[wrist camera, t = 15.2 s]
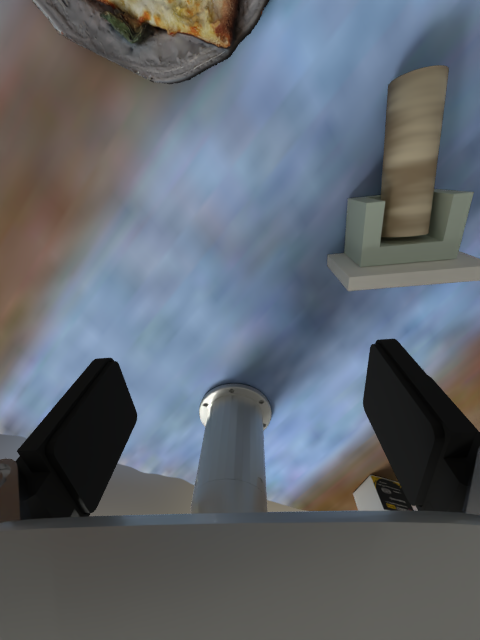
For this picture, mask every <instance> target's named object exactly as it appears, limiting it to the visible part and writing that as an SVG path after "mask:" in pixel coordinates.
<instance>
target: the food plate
mask: <svg viewBox="0 0 480 640" xmlns="http://www.w3.org/2000/svg"><path fill="white" fill-rule="evenodd" d="M32 2H33V3H34V4H35V5H36V6H37V7H38V8H39V9H40V10H41V11H42V13H43V14H44V15H45V16H46V17H47V18H48V20H49V21H50V22H51V23H52V25H53V26H54V28H55V29H56V30H57V31H58V32H59V33H60V34H63V36H65V35H66V37H68V38H69V40H70V41H73V42H74V43H75V42H76V44H78V45H81V46H83V47H85V48H86V49H89V50H91V51H93V52H95V53H96V54H98V55H100V56H102V57H104V58H106V59H108V60H110V61H112V62H114V63H116V64H118V65H120V66H122V67H124V68H126V69H128V70H130V71H132V72H134V73H136V74H138V75H139V74H140V76H142V77H144V78H148V79H149V78H151V79H152V80H150V81H152V82H161V83H167V84H173V83H180V82H182V81H186V80H190V79H191V78H193V77H195V76H196V75H198V74H200V73H201V72H203V71H205V70H206V69H208V68H211V67H212V66H214V65H217V64H218V63H220V62H223V61H224V60H226V59H228V58H229V57H230V56H231V55H232V53H233V52H234V51H235V49H236V48H237V46H238V44H239V43H240V42H242V40H243V39H244V38H245V37H246V36H247V35H249V34H250V33H251V31H252V30H253V29H254V27H255V26H256V25H257V23H258V21H259V20H260V18H261V15H262V11H263V10H264V7H266V5H267V3H268V2H269V0H32ZM59 33H58V34H59ZM66 37H65V38H66ZM68 38H67V39H68Z"/></svg>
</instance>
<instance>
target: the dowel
mask: <svg viewBox="0 0 480 640" xmlns="http://www.w3.org/2000/svg"><path fill="white" fill-rule="evenodd" d="M448 72H449V68H448V67H447V66H442V65H437V66H429V67H424V68H420V69H417V70H414V71H411V72H408V73H406V74H404V75H402V76H400V77H398V78H396V79H394V80H393V81H392V82H391V83H390V84H389V85H388V95H387V110H386V125H385V140H384V155H383V170H382V185H381V200H382V201H385V208H384V216H383V224H382V232H381V237H409V236H419V235H426V234H428V233H429V225H430V217H431V209H432V201H433V193H434V185H435V177H436V169H437V160H438V152H439V144H440V136H441V128H442V120H443V112H444V104H445V96H446V88H447V80H448Z"/></svg>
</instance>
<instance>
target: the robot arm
mask: <svg viewBox="0 0 480 640" xmlns="http://www.w3.org/2000/svg"><path fill="white" fill-rule="evenodd" d="M363 406H364V410H365V412H366V415H367V417H368V419H369V421H370V423H371V425H372V427H373V429H374V431H375V433H376V435H377V438H378V440H379V442H380V444H381V446H382V448H383V450H384V452H385V454H386V456H387V458H388V460H389V463H390V465H391V467H392V469H393V471H394V473H395V475H396V477H397V479H398V481H399V483H400V485H401V488H402V490H403V492H404V494H405V496H406V498H407V500H408V502H409V503H410V504H411V505H412V506H415V505H416V507H417V509H418V511H309V512H267V497H266V476H265V455H264V435H263V431H264V430H265V429H266V428H267V426H268V425H269V423H270V420H271V406H270V403H269V401H268V399H267V398H266V397H265V396H264V395H263V394H262V393H261V392H260V391H258V390H257V389H255V388H253V387H251V386H247V385H243V384H225V385H221V386H218V387H216V388H214V389H212V390H210V391H209V392H208V393H207V394H206V395H205V396H204V397H203V399H202V401H201V404H200V408H199V415H200V419H201V421H202V423H203V425H204V426H205V432H204V437H203V443H202V448H201V454H200V459H199V465H198V471H197V476H196V482H195V487H194V493H193V499H192V504H191V514H165V515H164V514H161V515H124V516H93V517H92V516H89V515H90V513H92V512H94V510H96V508H97V506H98V504H99V502H100V500H101V497H102V495H103V493H104V491H105V489H106V487H107V484H108V482H109V480H110V478H111V476H112V474H113V471H114V469H115V467H116V465H117V463H118V461H119V458H120V456H121V454H122V452H123V450H124V448H125V445H126V443H127V441H128V439H129V437H130V434H131V432H132V430H133V428H134V426H135V424H136V421H137V412H136V409H135V407H134V404H133V401H132V399H131V396H130V393H129V391H128V388H127V385H126V383H125V380H124V377H123V374H122V372H121V369H120V366H119V364H118V362H116V361H114V360H113V359H112V358H101V359H95V360H93V361H92V362H91V364H90V365H89V366H88V367H87V368H86V370H85V371H84V372H83V373H82V374H81V376H80V377H79V378H78V379H77V380H76V381H75V383H74V384H73V385H72V386H71V387H70V389H69V390H68V391H67V392H66V393H65V395H64V396H63V397H62V398H61V399H60V400H59V402H58V403H57V404H56V405H55V406H54V408H53V409H52V410H51V411H50V412H49V413H48V415H47V416H46V417H45V418H44V419H43V421H42V422H41V423H40V424H39V425H38V427H37V428H36V429H35V430H34V431H33V432H32V434H31V435H30V436H29V437H28V438H27V440H26V441H25V442H24V443H23V444H22V446H21V447H20V448H19V449H18V450H17V452H18V453H19V455H20V457H19V458H18V459H17V460H16V461H14V460H12V459H1V460H0V640H480V432H479V431H478V430H477V429H476V428H475V427H474V425H473V424H472V423H471V422H470V421H469V420H468V419H467V418H466V416H465V415H464V414H463V413H462V412H461V411H460V410H459V408H458V407H457V406H456V405H455V404H454V403H453V402H452V401H451V399H450V398H449V397H448V396H447V395H446V394H445V393H444V391H443V390H442V389H441V388H440V387H439V386H438V385H437V384H436V382H435V381H434V380H433V379H432V378H431V377H430V376H428V375H427V374H426V373H425V372H424V371H423V370H422V368H421V367H420V366H419V365H418V364H417V363H416V362H415V360H414V359H413V358H412V357H411V356H410V355H409V354H408V352H407V351H406V350H405V349H404V348H403V347H402V346H401V344H400V343H399V342H398V341H397V340H396V339H383V340H377V341H376V343H375V344H372V345H371V347H370V353H369V361H368V368H367V376H366V383H365V391H364V398H363Z"/></svg>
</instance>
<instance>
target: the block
mask: <svg viewBox="0 0 480 640" xmlns="http://www.w3.org/2000/svg"><path fill="white" fill-rule="evenodd" d="M473 193H474V192H467V191H455V190H443V189H434V193H433V201H432V209H431V217H430V225H429V233H428V234H426V235H419V236H409V237H381V232H382V224H383V216H384V208H385V201H382V200H381V195H375V196H366V197H357V198H348V204H347V218H346V233H345V247H344V254H346V255H347V256H348V257H349V258H350V259H351V260H353V261H354V262H355V263H356V264H357V265H358V266H360V267H367V266H378V265H389V264H401V263H412V262H424V261H435V260H447V259H457V255H458V251H459V247H460V244H461V240H462V236H463V232H464V228H465V224H466V220H467V216H468V213H469V209H470V205H471V201H472V197H473Z"/></svg>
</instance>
